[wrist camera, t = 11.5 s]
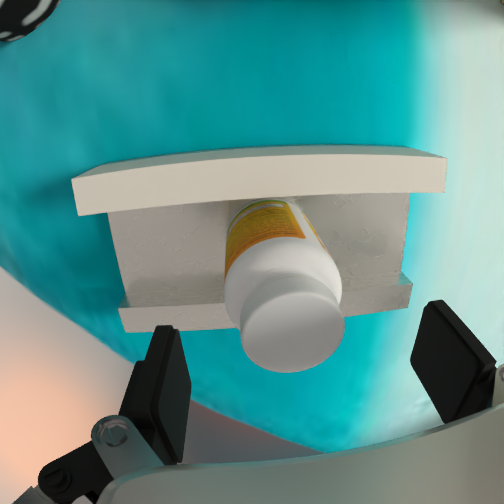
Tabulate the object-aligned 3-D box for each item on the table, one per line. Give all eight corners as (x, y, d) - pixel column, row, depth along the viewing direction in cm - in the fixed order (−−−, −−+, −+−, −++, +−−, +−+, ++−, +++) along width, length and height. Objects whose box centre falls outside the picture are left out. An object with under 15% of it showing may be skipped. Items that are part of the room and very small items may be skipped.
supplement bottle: (210, 252, 21) (196, 358, 12) (254, 180, 19) (272, 247, 10) (281, 287, 22) (307, 398, 13) (326, 223, 20) (389, 311, 11)
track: (405, 146, 19) (447, 158, 15) (391, 287, 24) (420, 323, 19) (105, 163, 19) (71, 179, 14) (135, 308, 23) (118, 351, 19)
